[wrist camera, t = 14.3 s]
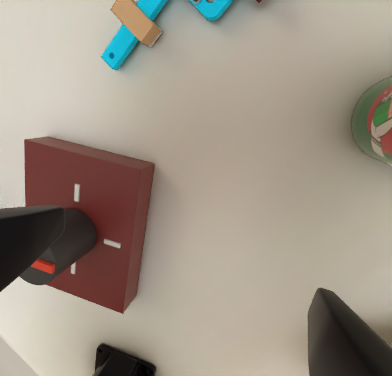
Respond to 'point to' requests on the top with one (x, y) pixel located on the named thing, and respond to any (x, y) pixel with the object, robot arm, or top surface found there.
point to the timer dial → (64, 249)
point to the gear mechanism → (147, 24)
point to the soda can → (375, 121)
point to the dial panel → (94, 213)
